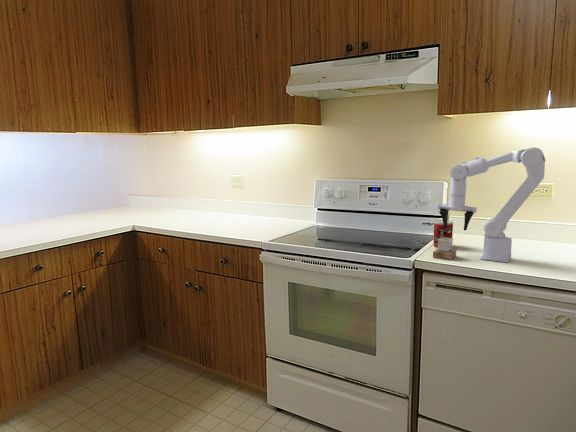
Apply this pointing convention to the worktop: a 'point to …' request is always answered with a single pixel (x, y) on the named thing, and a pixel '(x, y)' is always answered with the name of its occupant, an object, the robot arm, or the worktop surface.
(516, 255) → the worktop surface
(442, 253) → the walnut block
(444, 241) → the tea tin
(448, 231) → the canned food
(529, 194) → the robot arm
